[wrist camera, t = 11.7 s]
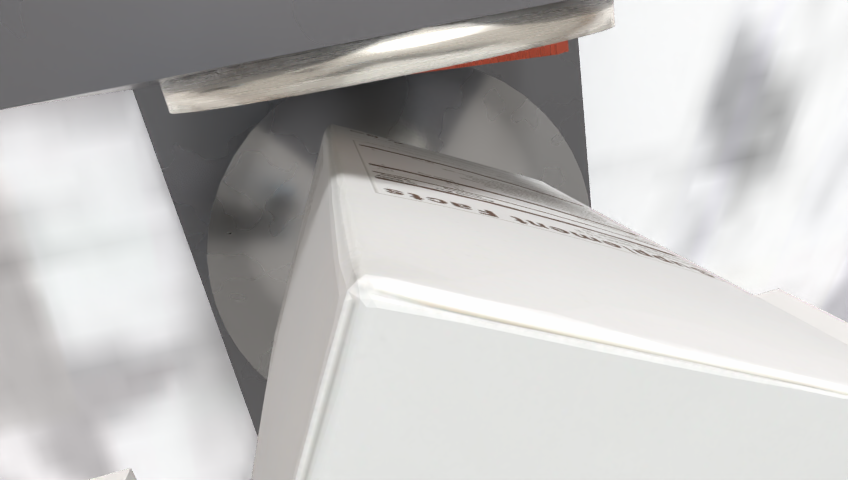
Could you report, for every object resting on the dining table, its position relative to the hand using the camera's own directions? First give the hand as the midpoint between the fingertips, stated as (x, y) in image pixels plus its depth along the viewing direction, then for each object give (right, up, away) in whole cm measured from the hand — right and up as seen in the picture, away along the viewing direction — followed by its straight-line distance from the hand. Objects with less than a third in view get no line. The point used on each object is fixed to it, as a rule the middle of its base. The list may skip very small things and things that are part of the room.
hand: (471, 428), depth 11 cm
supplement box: (-1, +3, +10) cm, 10 cm away
